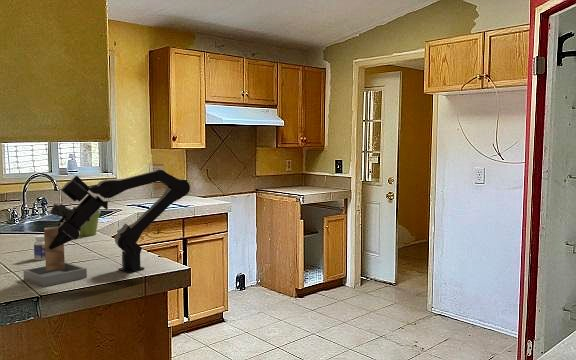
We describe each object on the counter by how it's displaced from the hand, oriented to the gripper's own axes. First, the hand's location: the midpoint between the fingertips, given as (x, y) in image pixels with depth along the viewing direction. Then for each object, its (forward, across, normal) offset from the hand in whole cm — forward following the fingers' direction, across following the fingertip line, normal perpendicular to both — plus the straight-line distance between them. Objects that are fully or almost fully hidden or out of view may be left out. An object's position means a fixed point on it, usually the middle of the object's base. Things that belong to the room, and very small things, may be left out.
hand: (49, 246), depth 160 cm
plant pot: (-3, -81, +19) cm, 83 cm away
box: (+7, 0, +8) cm, 11 cm away
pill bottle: (+10, -34, +5) cm, 36 cm away
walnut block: (+4, 0, +6) cm, 7 cm away
